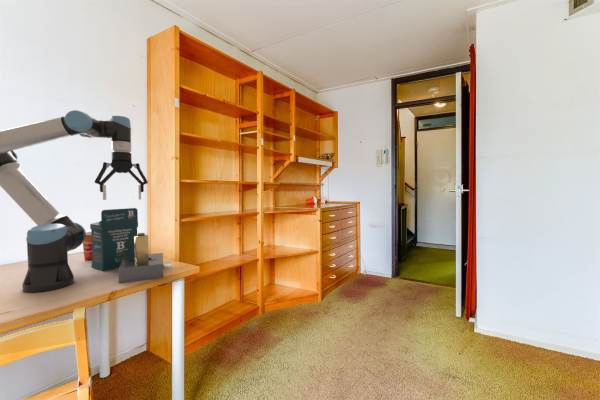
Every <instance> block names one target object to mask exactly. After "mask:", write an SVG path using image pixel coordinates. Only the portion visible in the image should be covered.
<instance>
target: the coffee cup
mask: <svg viewBox="0 0 600 400" xmlns="http://www.w3.org/2000/svg"><path fill="white" fill-rule="evenodd" d="M85 232H86V237H85V240H84V242H83V243H82V248H83V258H84V261H88V262H89V261H90V262H91V261H92V237H91V229H89V230H85Z"/></svg>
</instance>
